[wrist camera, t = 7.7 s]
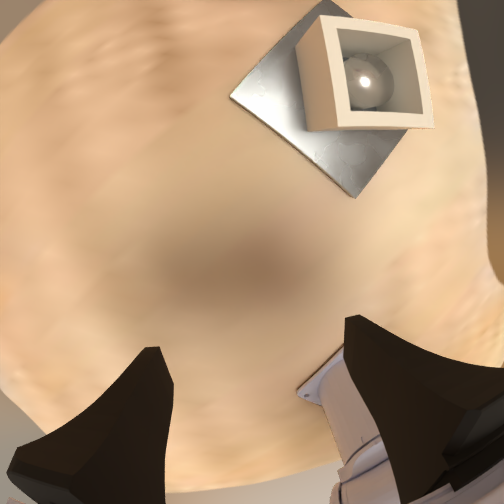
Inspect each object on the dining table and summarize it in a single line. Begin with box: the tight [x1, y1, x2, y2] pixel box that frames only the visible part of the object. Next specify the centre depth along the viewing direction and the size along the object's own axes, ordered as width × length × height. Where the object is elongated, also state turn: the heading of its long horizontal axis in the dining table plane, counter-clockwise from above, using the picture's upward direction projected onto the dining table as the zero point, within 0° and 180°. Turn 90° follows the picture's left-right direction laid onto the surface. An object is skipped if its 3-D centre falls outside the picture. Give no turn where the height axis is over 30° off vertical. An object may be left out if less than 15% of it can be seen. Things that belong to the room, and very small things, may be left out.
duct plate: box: [230, 0, 408, 199], centre depth 14 cm, size 10×10×4 cm
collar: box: [295, 15, 435, 132], centre depth 13 cm, size 6×6×5 cm
